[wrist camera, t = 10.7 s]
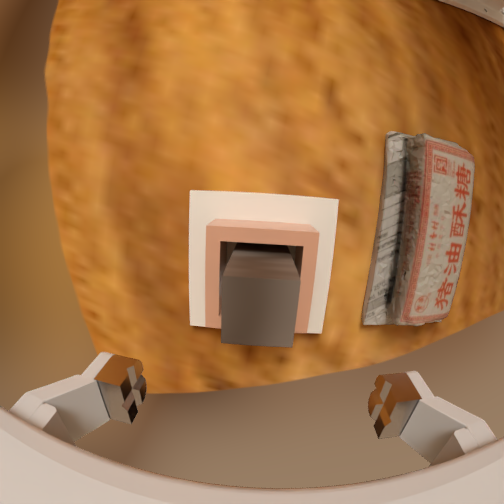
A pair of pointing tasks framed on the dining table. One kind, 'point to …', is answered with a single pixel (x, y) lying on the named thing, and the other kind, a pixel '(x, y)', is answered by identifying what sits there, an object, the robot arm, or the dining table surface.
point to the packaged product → (419, 230)
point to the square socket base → (265, 232)
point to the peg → (259, 296)
